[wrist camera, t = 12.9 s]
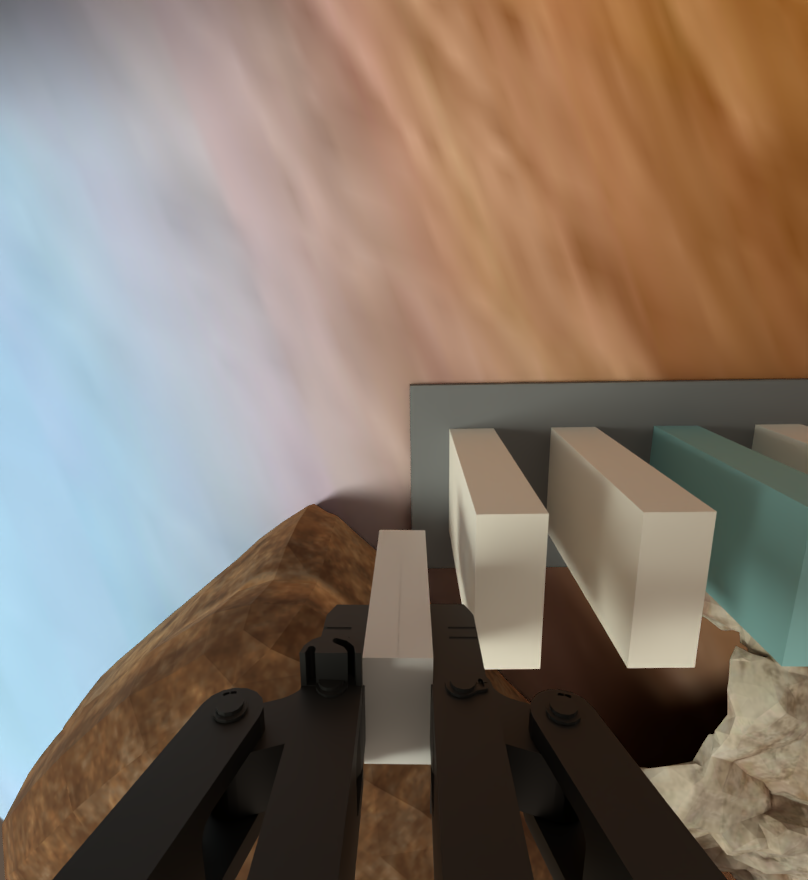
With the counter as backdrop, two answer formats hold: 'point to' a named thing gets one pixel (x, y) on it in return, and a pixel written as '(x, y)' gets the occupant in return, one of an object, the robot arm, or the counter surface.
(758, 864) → the rock
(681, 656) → the domino
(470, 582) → the domino
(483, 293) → the counter surface
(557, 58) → the counter surface
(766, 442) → the domino
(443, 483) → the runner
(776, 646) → the teal domino
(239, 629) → the bread
